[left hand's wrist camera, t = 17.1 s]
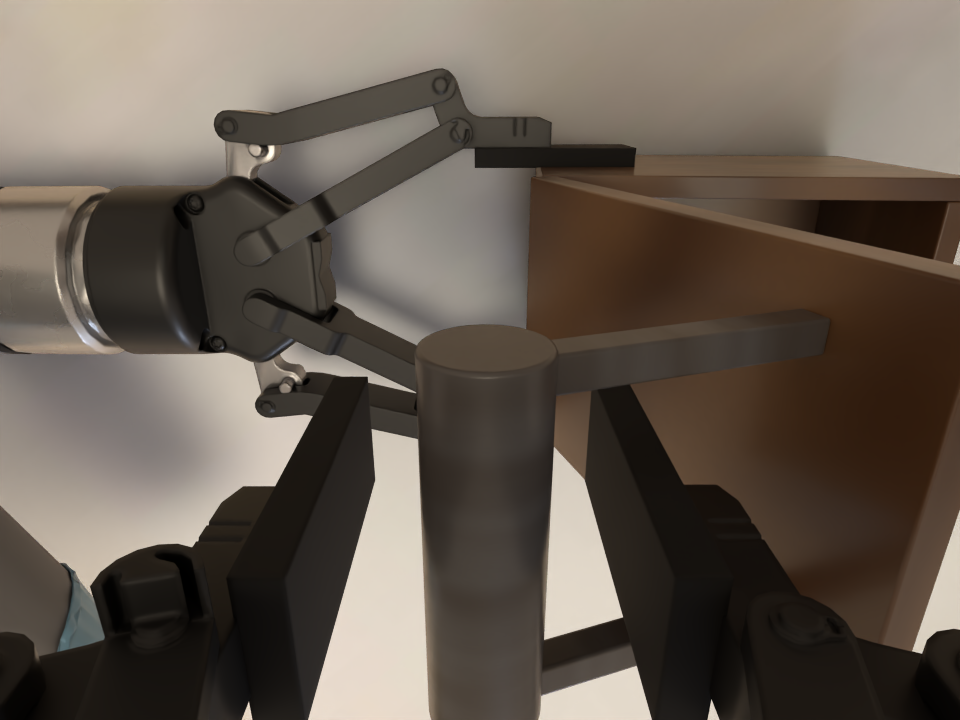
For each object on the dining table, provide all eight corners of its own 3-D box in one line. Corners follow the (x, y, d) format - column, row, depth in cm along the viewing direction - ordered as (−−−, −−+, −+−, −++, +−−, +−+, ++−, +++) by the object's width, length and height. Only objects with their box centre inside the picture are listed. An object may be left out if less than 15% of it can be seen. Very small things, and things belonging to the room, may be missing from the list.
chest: (838, 156, 32) (978, 178, 22) (802, 331, 35) (910, 417, 25) (536, 154, 33) (542, 174, 23) (530, 325, 36) (533, 406, 26)
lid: (1040, 281, 9) (480, 352, 6) (882, 745, 12) (479, 914, 10) (555, 175, 22) (314, 184, 20) (544, 410, 26) (338, 444, 23)
